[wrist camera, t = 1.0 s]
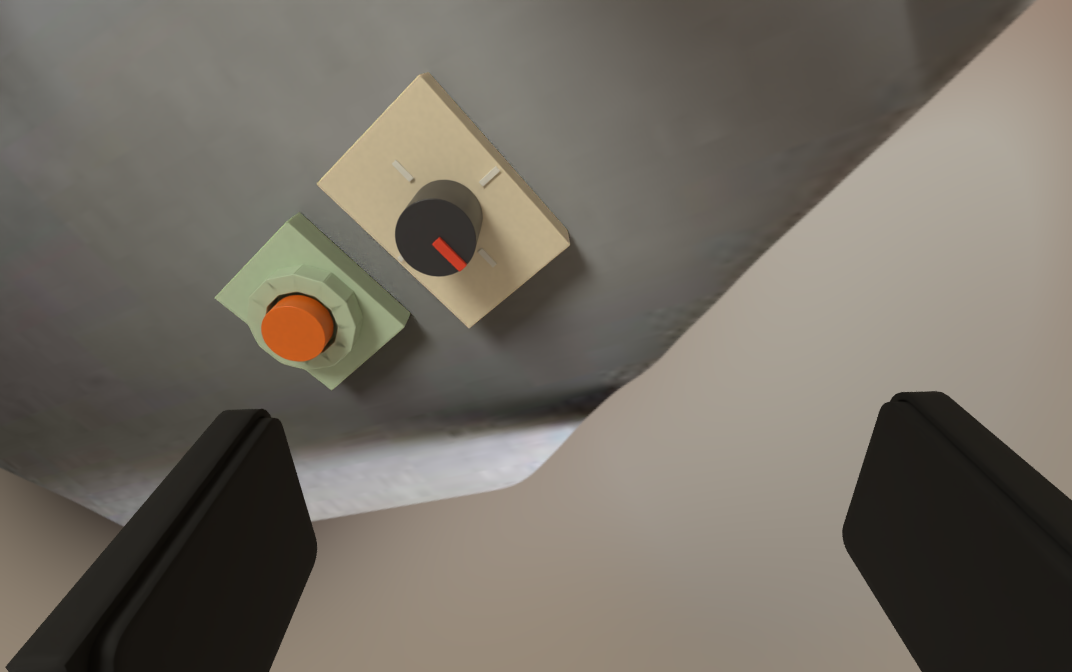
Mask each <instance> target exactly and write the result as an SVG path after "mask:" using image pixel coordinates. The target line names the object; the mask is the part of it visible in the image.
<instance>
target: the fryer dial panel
mask: <svg viewBox="0 0 1072 672" xmlns="http://www.w3.org/2000/svg"><path fill="white" fill-rule="evenodd" d="M436 180H452V181H456V182H458V183H461V184H462V185H464V186H466V187H467V188H468V189H470V190H471V191H472V192H473V194H474V195H475V196H476V198H477V199H478V201H479V203H480V206H481V209H482V215H483V220H482V226H481V230H480V234H479V238H478V241H477V245H476V249H475V252H474V255H473V257H472V259H471V260H470V262H469V263H468V264H467V266H466V267H465V268H464V269H463V270H461V271H460V272H457V273H454V274H452V275H448V276H442V277H436V276H429V275H426V274H423V273H421V272H419V271H417V270H415V269H414V268H412V267H411V266H410V265H409V264H408V263H407V262H406V261H405V260H404V259H403V257H402V256H401V254H400V253H399V251H398V248H397V245H396V241H395V228H396V224H397V221H398V219H399V217H400V215H401V213H402V212H403V211H404V209H405V208H406V207H407V205H408V204H409V203H410V201H411V200H412V199H413V197H414V196H415V195H416V193H417V192H418V191H419V190H420V189H421V188H422V187H423V186H425V185H426V184H428V183H430V182H432V181H436ZM317 185H318V186H319V187H320V188H321V189H322V190H323V191H324V192H325V193H326V194H327V195H328V196H329V197H330V198H332V199H333V200H334V201H335V202H336V203H337V204H338V205H339V206H340V207H341V208H342V209H343V210H344V211H345V212H346V213H347V214H348V215H350V216H351V217H352V218H353V219H354V220H355V221H356V222H357V223H358V224H359V225H360V226H361V227H362V228H363V229H364V230H365V231H366V232H368V233H369V234H370V235H371V236H372V237H373V238H374V239H375V240H376V241H377V242H378V243H379V244H380V245H381V246H382V247H383V248H384V249H386V250H387V251H388V252H389V253H390V254H391V255H392V256H393V257H394V258H395V259H396V260H397V261H398V262H399V263H400V264H401V265H402V266H404V267H405V268H406V269H407V270H408V271H409V272H410V273H411V274H412V275H413V276H414V277H415V278H416V279H417V280H418V281H419V282H420V283H422V284H423V285H424V286H425V287H426V288H427V289H428V290H429V291H430V292H431V293H432V294H433V295H434V296H435V297H436V298H437V299H438V300H440V301H441V302H442V303H443V304H444V305H445V306H446V307H447V308H448V309H449V310H450V311H451V312H452V313H453V314H454V315H455V316H456V317H458V318H459V319H460V320H461V321H462V322H463V323H464V324H465V325H466V326H467V327H468V328H470V327H472V326H473V325H474V324H475V323H477V322H478V321H479V320H480V319H481V318H483V317H484V316H485V315H486V314H487V313H489V312H490V311H491V310H492V309H494V308H495V307H496V306H497V305H498V304H500V303H501V302H502V301H503V300H504V299H506V298H507V297H508V296H509V295H510V294H512V293H513V292H514V291H515V290H517V289H518V288H519V287H520V286H521V285H523V284H524V283H525V282H526V281H527V280H529V279H530V278H531V277H532V276H533V275H535V274H536V273H537V272H538V271H540V270H541V269H542V268H543V267H544V266H546V265H547V264H548V263H549V262H550V261H552V260H553V259H554V258H555V257H556V256H558V255H559V254H560V253H561V252H563V251H564V250H565V249H566V248H567V247H569V246H570V240H569V235H568V230H567V229H566V228H565V227H564V226H563V224H562V223H561V222H560V221H559V220H558V219H557V218H556V216H555V215H554V214H553V213H552V212H551V211H550V210H549V209H548V207H547V206H546V205H545V204H544V203H543V202H542V201H541V199H540V198H539V197H538V196H537V195H536V194H535V193H534V191H533V190H532V189H531V188H530V187H529V186H528V185H527V184H526V182H525V181H524V180H523V179H522V178H521V177H520V176H519V174H518V173H517V172H516V171H515V170H514V169H513V168H512V166H511V165H510V164H509V163H508V162H507V161H506V160H505V159H504V157H503V156H502V155H501V154H500V153H499V152H498V151H497V149H496V148H495V147H494V146H493V145H492V144H491V143H490V141H489V140H488V139H487V138H486V137H485V136H484V135H483V133H482V132H481V131H480V130H479V129H478V128H477V127H476V126H475V124H474V123H473V122H472V121H471V120H470V119H469V118H468V116H467V115H466V114H465V113H464V112H463V111H462V110H461V108H460V107H459V106H458V105H457V104H456V103H455V102H454V101H453V99H452V98H451V97H450V96H449V95H448V94H447V93H446V91H445V90H444V89H443V88H442V87H441V86H440V85H439V83H438V82H437V81H436V80H435V79H434V78H433V77H432V76H431V74H430V73H429V72H427V73H424V74H421V75H418V76H417V77H416V78H415V80H414V81H413V82H412V83H411V84H410V85H409V86H408V87H407V88H406V89H405V90H404V91H403V92H402V93H401V94H400V95H399V97H398V98H397V99H396V100H395V101H394V102H393V103H392V104H391V105H390V106H389V107H388V108H387V109H386V110H385V111H384V112H383V114H382V115H381V116H380V117H379V118H378V119H377V120H376V121H375V122H374V123H373V124H372V125H371V126H370V127H369V128H368V129H367V131H366V132H365V133H364V134H363V135H362V136H361V137H360V138H359V139H358V140H357V141H356V142H355V143H354V144H353V145H352V147H351V148H350V149H349V150H348V151H347V152H346V153H345V154H344V155H343V156H342V157H341V158H340V159H339V160H338V161H337V162H336V164H335V165H334V166H333V167H332V168H331V169H330V170H329V171H328V172H327V173H326V174H325V175H324V176H323V177H322V178H321V179H320V181H319V182H318V183H317Z"/></svg>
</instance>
